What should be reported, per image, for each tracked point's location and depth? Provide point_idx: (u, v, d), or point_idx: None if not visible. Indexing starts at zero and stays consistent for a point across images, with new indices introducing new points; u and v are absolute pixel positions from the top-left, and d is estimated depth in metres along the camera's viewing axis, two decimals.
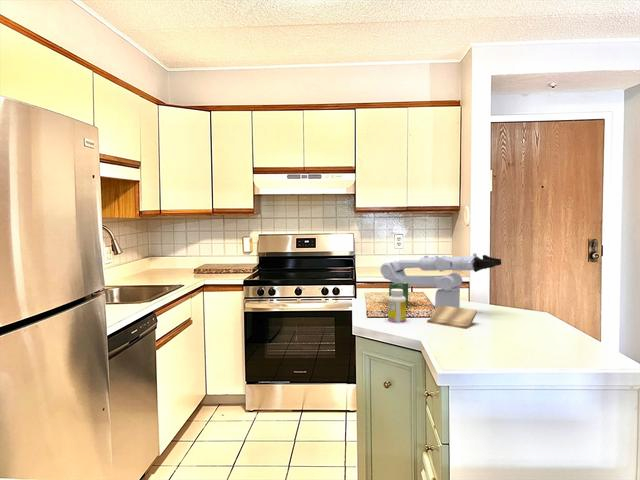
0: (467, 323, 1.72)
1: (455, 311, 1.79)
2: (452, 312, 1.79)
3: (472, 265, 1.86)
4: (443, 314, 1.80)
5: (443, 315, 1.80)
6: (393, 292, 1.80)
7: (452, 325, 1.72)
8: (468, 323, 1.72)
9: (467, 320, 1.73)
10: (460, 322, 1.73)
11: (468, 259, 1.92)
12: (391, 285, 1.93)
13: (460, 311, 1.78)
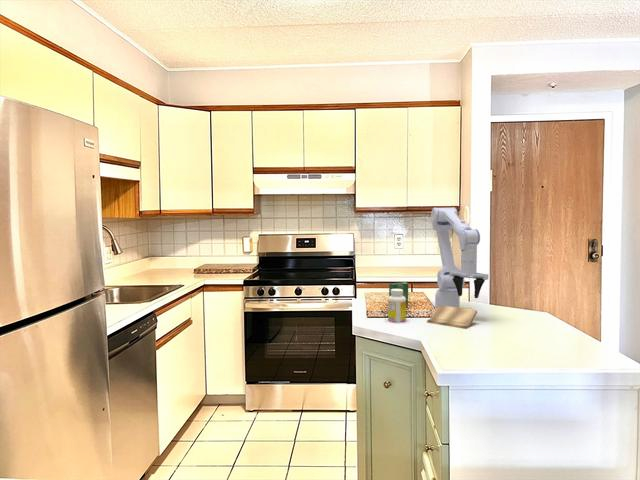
0: (467, 323, 1.72)
1: (455, 311, 1.79)
2: (452, 312, 1.79)
3: None
4: (443, 314, 1.80)
5: (443, 315, 1.80)
6: (393, 292, 1.80)
7: (452, 325, 1.72)
8: (468, 323, 1.72)
9: (467, 320, 1.73)
10: (460, 322, 1.73)
11: (461, 269, 1.83)
12: (391, 285, 1.93)
13: (460, 311, 1.78)
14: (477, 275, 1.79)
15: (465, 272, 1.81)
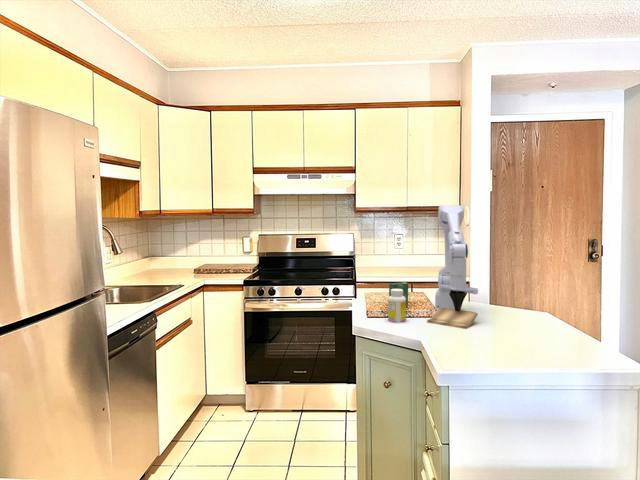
0: (467, 323, 1.72)
1: (456, 313, 1.80)
2: (452, 313, 1.80)
3: None
4: (443, 315, 1.80)
5: (443, 316, 1.80)
6: (393, 292, 1.80)
7: (452, 325, 1.72)
8: (468, 323, 1.72)
9: (467, 320, 1.73)
10: (460, 322, 1.74)
11: (450, 283, 1.81)
12: (391, 285, 1.93)
13: (461, 313, 1.79)
14: (466, 289, 1.77)
15: (454, 286, 1.78)
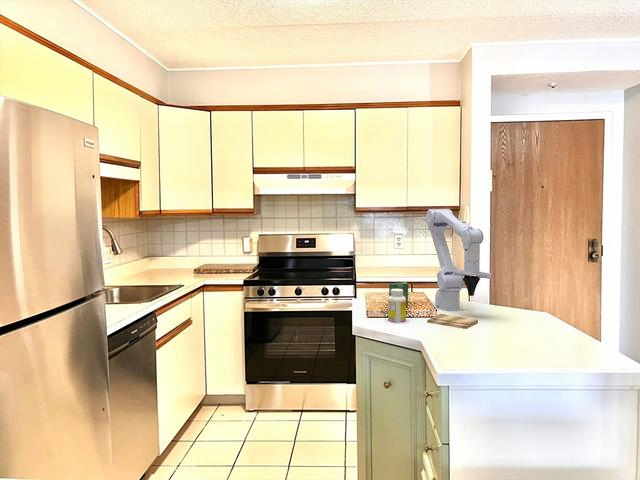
0: (468, 323, 1.72)
1: (456, 317, 1.80)
2: (453, 317, 1.80)
3: None
4: (444, 317, 1.81)
5: (444, 318, 1.80)
6: (393, 292, 1.80)
7: (452, 325, 1.72)
8: (469, 323, 1.72)
9: (468, 322, 1.74)
10: (460, 322, 1.74)
11: (464, 268, 1.85)
12: (391, 285, 1.93)
13: (462, 318, 1.79)
14: (480, 274, 1.81)
15: (468, 271, 1.83)
